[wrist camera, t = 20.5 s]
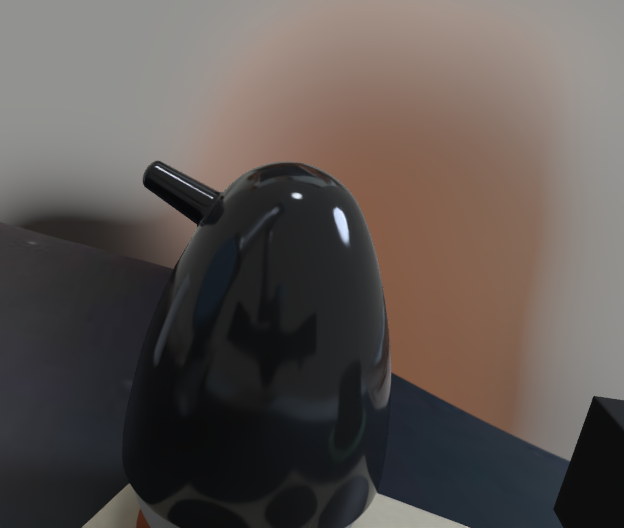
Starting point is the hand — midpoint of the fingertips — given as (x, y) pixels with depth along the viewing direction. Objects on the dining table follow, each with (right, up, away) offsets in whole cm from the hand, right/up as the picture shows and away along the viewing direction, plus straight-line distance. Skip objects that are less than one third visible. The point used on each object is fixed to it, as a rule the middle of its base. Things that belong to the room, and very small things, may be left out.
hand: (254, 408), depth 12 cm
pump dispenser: (-2, -8, +13) cm, 16 cm away
